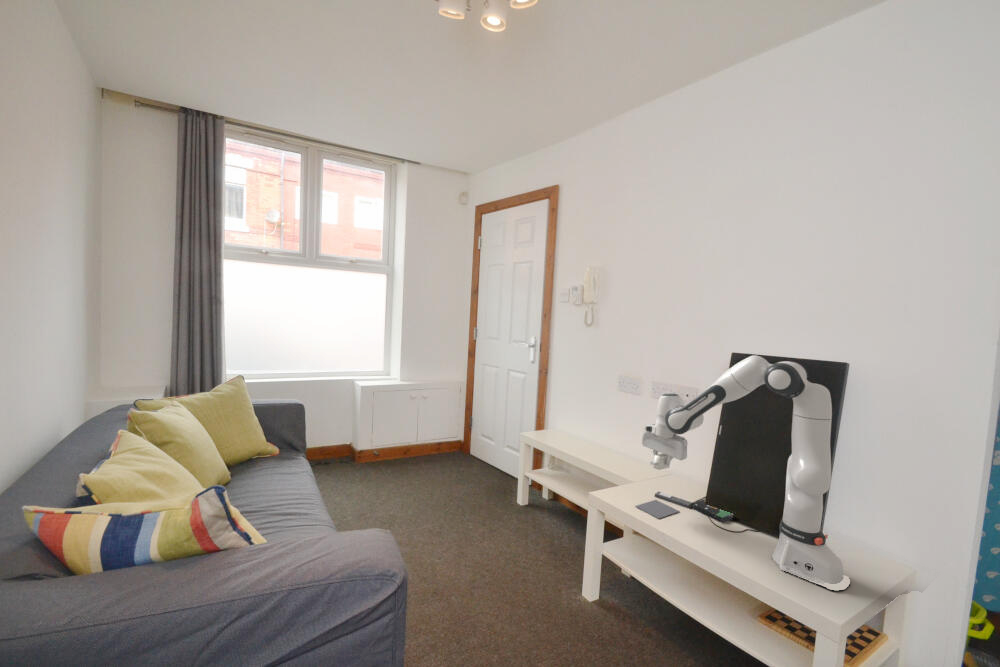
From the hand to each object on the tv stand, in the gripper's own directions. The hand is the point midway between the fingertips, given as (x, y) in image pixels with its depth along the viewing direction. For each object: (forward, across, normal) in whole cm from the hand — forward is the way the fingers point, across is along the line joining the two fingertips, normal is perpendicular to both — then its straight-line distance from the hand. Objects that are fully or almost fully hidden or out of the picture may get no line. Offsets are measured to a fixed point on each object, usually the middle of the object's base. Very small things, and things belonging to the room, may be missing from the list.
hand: (661, 463), depth 195 cm
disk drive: (+21, -13, -20) cm, 32 cm away
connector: (+2, 0, +1) cm, 2 cm away
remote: (+21, +2, -14) cm, 25 cm away
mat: (+20, 0, 0) cm, 20 cm away
